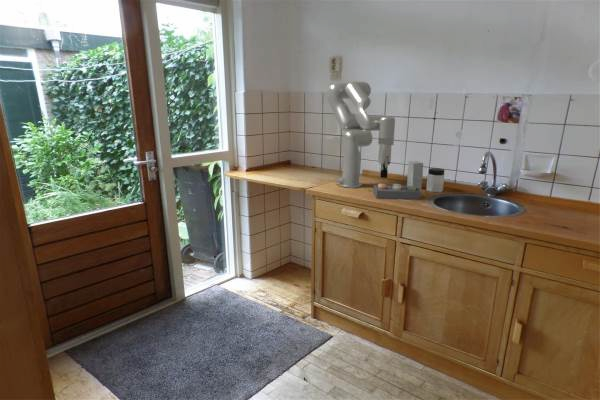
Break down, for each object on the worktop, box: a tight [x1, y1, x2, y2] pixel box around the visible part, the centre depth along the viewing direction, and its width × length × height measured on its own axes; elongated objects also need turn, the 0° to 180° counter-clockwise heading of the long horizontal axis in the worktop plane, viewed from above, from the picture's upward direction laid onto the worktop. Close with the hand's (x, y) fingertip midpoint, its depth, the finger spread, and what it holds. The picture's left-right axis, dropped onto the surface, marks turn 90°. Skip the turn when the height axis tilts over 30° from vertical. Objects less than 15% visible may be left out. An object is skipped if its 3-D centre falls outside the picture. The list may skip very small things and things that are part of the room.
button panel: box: [373, 184, 422, 201], centre depth 203 cm, size 22×12×4 cm, turn 87°
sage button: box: [406, 185, 416, 190], centre depth 203 cm, size 4×4×4 cm
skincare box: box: [406, 160, 424, 190], centre depth 222 cm, size 8×6×15 cm
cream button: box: [392, 183, 402, 190], centre depth 203 cm, size 4×4×4 cm
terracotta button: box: [377, 183, 388, 189], centre depth 203 cm, size 4×4×4 cm
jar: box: [425, 167, 445, 193], centre depth 216 cm, size 9×8×12 cm
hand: (383, 177), depth 201 cm, fingers closed
